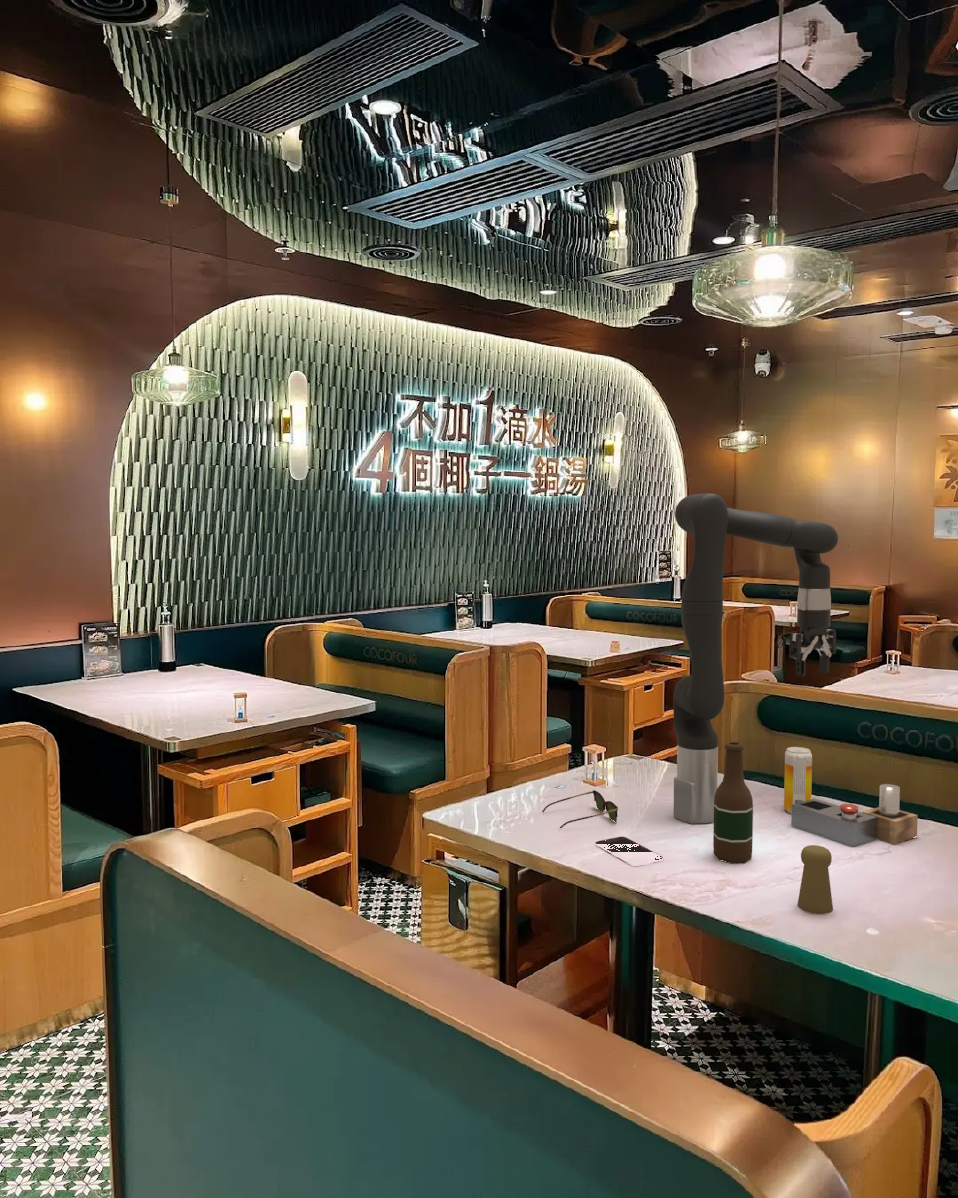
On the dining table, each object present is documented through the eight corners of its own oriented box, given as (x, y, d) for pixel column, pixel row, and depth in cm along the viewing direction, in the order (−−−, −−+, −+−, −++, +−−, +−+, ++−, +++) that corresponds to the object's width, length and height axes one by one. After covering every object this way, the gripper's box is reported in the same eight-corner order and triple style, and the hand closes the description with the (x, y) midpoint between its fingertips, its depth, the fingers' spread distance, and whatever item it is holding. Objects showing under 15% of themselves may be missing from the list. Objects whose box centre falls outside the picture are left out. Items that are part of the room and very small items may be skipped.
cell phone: (623, 840, 201) (623, 835, 201) (665, 862, 187) (665, 857, 187) (593, 846, 197) (593, 841, 197) (633, 869, 184) (633, 864, 184)
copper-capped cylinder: (850, 837, 197) (851, 810, 196) (836, 832, 200) (836, 805, 199) (861, 834, 199) (861, 807, 198) (846, 829, 202) (847, 802, 201)
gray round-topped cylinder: (891, 840, 198) (892, 790, 197) (874, 835, 201) (875, 786, 200) (902, 836, 200) (903, 787, 199) (886, 831, 203) (887, 783, 202)
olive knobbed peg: (791, 900, 167) (792, 842, 166) (823, 899, 168) (824, 841, 167) (806, 914, 161) (807, 854, 160) (839, 913, 162) (840, 853, 161)
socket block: (852, 847, 194) (853, 824, 193) (791, 826, 207) (791, 804, 207) (876, 839, 198) (876, 817, 198) (814, 819, 212) (814, 798, 211)
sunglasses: (619, 827, 209) (618, 806, 208) (559, 839, 205) (557, 817, 205) (595, 808, 223) (593, 788, 222) (537, 819, 219) (536, 799, 218)
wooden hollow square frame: (894, 844, 195) (895, 821, 194) (861, 834, 202) (862, 811, 201) (916, 837, 199) (917, 815, 199) (883, 827, 206) (884, 805, 205)
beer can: (807, 807, 220) (808, 746, 219) (813, 816, 214) (815, 753, 213) (781, 807, 221) (782, 746, 219) (787, 815, 215) (788, 752, 213)
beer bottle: (753, 852, 191) (754, 740, 189) (751, 866, 184) (753, 749, 182) (714, 848, 194) (716, 737, 192) (711, 861, 186) (712, 746, 184)
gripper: (820, 604, 225) (818, 669, 227) (781, 607, 218) (779, 674, 219) (846, 606, 219) (844, 673, 221) (807, 610, 212) (805, 679, 213)
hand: (812, 674), depth 220 cm, fingers open, 8 cm apart
